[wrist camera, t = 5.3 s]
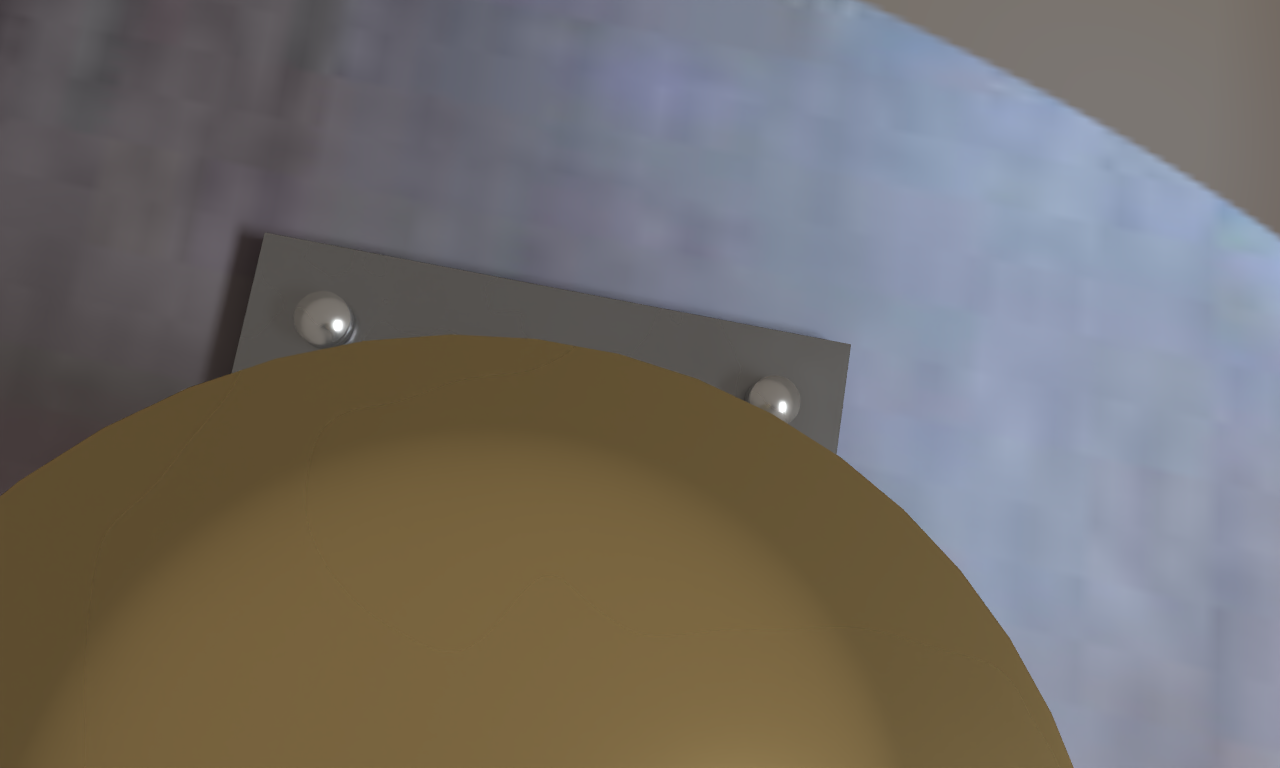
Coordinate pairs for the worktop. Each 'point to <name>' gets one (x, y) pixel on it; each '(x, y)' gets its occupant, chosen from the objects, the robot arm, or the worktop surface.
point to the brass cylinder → (486, 582)
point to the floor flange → (529, 326)
